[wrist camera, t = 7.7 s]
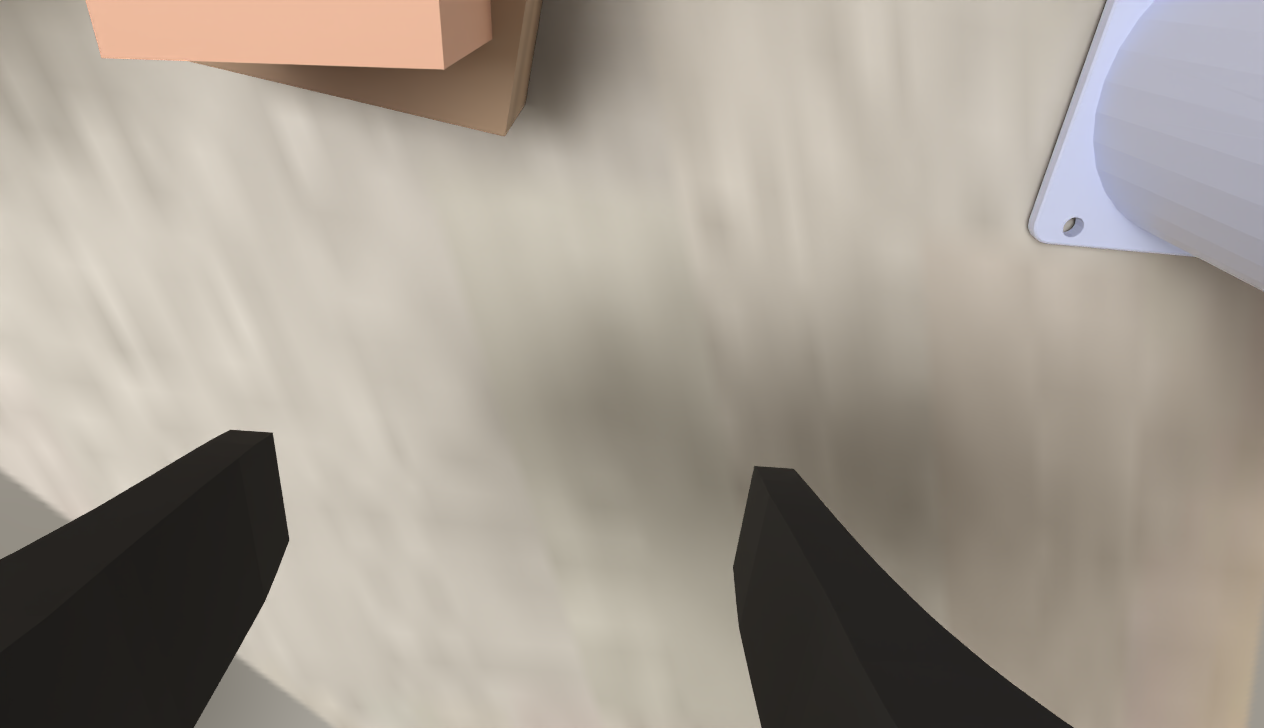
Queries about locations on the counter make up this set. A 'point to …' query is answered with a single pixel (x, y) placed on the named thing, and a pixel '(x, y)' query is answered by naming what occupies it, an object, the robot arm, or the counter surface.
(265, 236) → the counter surface
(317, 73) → the walnut block
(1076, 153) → the robot arm
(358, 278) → the counter surface
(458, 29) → the terracotta block
